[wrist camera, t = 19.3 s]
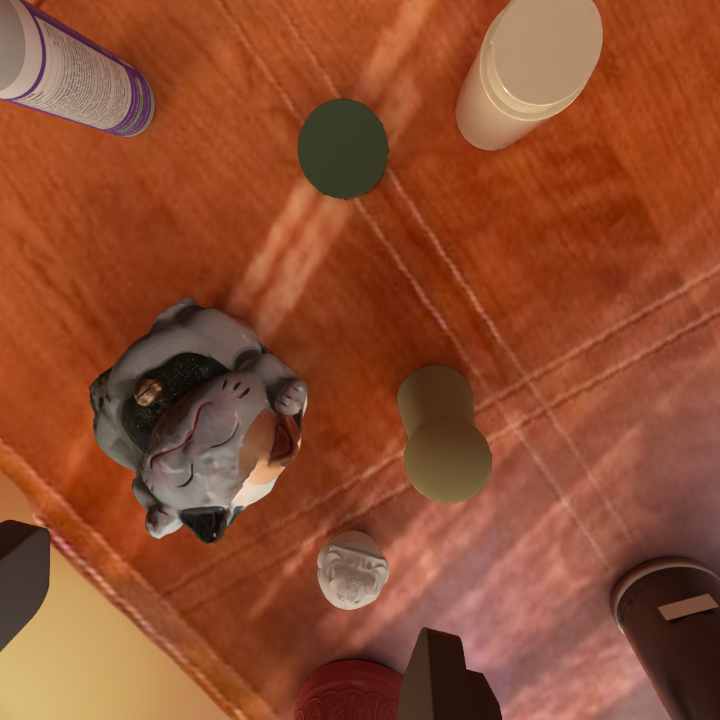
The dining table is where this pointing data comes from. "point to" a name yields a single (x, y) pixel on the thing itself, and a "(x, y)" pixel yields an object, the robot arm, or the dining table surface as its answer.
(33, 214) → the dining table surface
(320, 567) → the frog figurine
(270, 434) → the lucky cat figurine
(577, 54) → the jar
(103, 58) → the container
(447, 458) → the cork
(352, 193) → the lid
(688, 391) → the dining table surface
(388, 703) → the kitchen canister
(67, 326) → the dining table surface
